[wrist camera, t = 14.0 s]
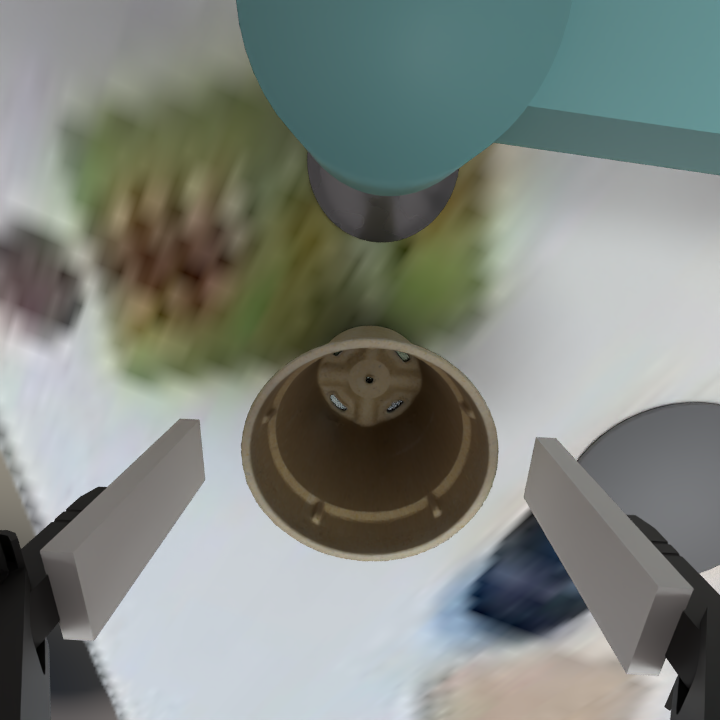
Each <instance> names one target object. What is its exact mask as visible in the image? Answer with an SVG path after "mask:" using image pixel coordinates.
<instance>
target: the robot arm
mask: <svg viewBox="0 0 720 720" xmlns="http://www.w3.org/2000/svg"><path fill="white" fill-rule="evenodd" d="M204 481H205V473H204V462H203V452H202V442H201V431H200V421H199V420H195V419H179V420H178V421H177V422H176V423H175V424H174V425H173V426H172V427H171V428H170V429H169V430H168V431H166V432H165V433H164V434H163V435H162V436H161V437H160V438H159V439H158V440H157V441H156V442H155V443H154V444H153V445H152V446H151V447H149V448H148V449H147V450H146V451H145V452H144V453H143V454H142V455H141V456H140V457H139V458H138V459H137V460H136V461H135V462H134V463H132V464H131V465H130V466H129V467H128V468H127V469H126V470H125V471H124V472H123V473H122V474H121V475H120V476H119V477H118V478H117V479H116V480H114V481H113V482H112V483H111V484H110V485H109V486H108V487H97V488H95V489H93V490H92V491H90V492H88V493H86V494H84V495H83V496H81V497H79V498H78V499H77V500H76V501H75V502H74V503H73V504H72V505H70V506H69V507H68V508H67V509H66V512H63V513H61V514H60V515H59V516H58V517H57V518H56V519H55V521H54V522H51V523H50V524H49V525H48V526H47V527H46V528H44V529H43V530H42V531H41V532H40V533H39V534H38V535H37V536H35V537H34V538H33V539H32V540H31V541H30V542H29V543H28V544H27V545H25V546H24V547H23V548H22V549H21V548H20V545H19V541H18V538H17V536H16V534H15V533H14V532H11V531H8V530H0V720H51V707H50V670H49V669H50V668H49V645H48V641H47V638H46V637H47V636H48V634H49V633H50V632H51V631H52V630H53V628H54V627H55V626H56V624H57V623H58V622H59V623H60V627H61V631H62V635H63V638H64V639H71V640H87V641H94V640H95V639H96V637H97V636H98V634H99V633H100V631H101V630H102V629H103V627H104V626H105V624H106V623H107V621H108V620H109V618H110V617H111V616H112V614H113V613H114V611H115V610H116V608H117V607H118V605H119V604H120V603H121V601H122V600H123V598H124V597H125V595H126V594H127V592H128V591H129V589H130V588H131V587H132V585H133V584H134V582H135V581H136V579H137V578H138V576H139V575H140V574H141V572H142V571H143V569H144V568H145V566H146V565H147V563H148V562H149V560H150V559H151V558H152V556H153V555H154V553H155V552H156V550H157V549H158V547H159V546H160V545H161V543H162V542H163V540H164V539H165V537H166V536H167V534H168V533H169V532H170V530H171V529H172V527H173V526H174V524H175V523H176V521H177V520H178V518H179V517H180V516H181V514H182V513H183V511H184V510H185V508H186V507H187V505H188V504H189V503H190V501H191V500H192V498H193V497H194V495H195V494H196V492H197V491H198V489H199V488H200V487H201V485H202V484H203V482H204ZM524 499H525V500H526V502H527V504H528V505H529V507H530V509H531V511H532V512H533V514H534V516H535V517H536V519H537V521H538V523H539V524H540V526H541V528H542V529H543V531H544V533H545V535H546V536H547V538H548V540H549V541H550V543H551V545H552V547H553V548H554V550H555V552H556V553H557V555H558V557H559V559H560V560H561V562H562V564H563V565H564V567H565V569H566V571H567V572H568V574H569V576H570V577H571V579H572V581H573V583H574V584H575V586H576V588H577V590H578V591H579V593H580V595H581V596H582V598H583V600H584V602H585V603H586V605H587V607H588V608H589V610H590V612H591V614H592V615H593V617H594V619H595V620H596V622H597V624H598V626H599V627H600V629H601V631H602V632H603V634H604V636H605V638H606V639H607V641H608V643H609V644H610V646H611V648H612V650H613V651H614V653H615V655H616V656H617V658H618V660H619V662H620V663H621V665H622V667H623V668H624V670H625V672H626V674H637V675H653V676H659V674H660V671H661V669H662V666H663V664H664V661H665V659H666V658H667V660H668V661H669V662H670V664H671V665H672V667H673V668H674V670H675V671H676V672H677V674H678V676H677V679H676V681H675V683H674V686H673V688H672V690H671V693H670V695H669V697H668V700H667V702H666V704H665V708H667V709H668V710H671V718H670V720H720V595H719V594H718V593H717V592H716V591H715V590H714V589H713V588H712V587H711V585H710V584H709V583H708V582H707V581H706V580H705V579H704V578H703V577H702V576H701V575H700V574H699V573H698V572H697V571H696V570H695V569H694V568H693V567H692V566H691V565H690V564H689V563H688V562H687V561H686V560H685V559H684V558H683V557H682V556H680V555H679V553H678V552H677V551H676V549H675V548H674V547H673V546H672V545H670V544H668V541H667V540H666V539H665V538H664V537H663V536H662V535H661V534H660V533H659V532H658V531H657V530H656V529H655V528H654V527H653V526H651V525H650V524H648V523H647V522H645V521H644V520H642V519H641V518H639V517H638V516H636V515H626V514H625V513H624V512H623V511H622V510H621V509H620V508H619V507H618V506H617V504H616V503H615V502H614V501H613V500H612V499H611V498H610V497H609V496H608V495H607V493H606V492H605V491H604V490H603V489H602V488H601V487H600V486H599V485H598V484H597V483H596V481H595V480H594V479H593V478H592V477H591V476H590V475H589V474H588V473H587V472H586V471H585V469H584V468H583V467H582V466H581V465H580V464H579V463H578V462H577V461H576V460H575V459H574V457H573V456H572V455H571V454H570V453H569V452H568V451H567V450H566V449H565V448H564V447H563V445H562V444H561V443H560V442H559V441H558V440H557V439H556V438H542V437H536V439H535V444H534V449H533V454H532V459H531V464H530V469H529V474H528V478H527V483H526V488H525V493H524Z"/></svg>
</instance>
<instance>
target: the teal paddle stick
mask: <svg viewBox="0 0 720 720" xmlns="http://www.w3.org/2000/svg"><path fill="white" fill-rule="evenodd" d="M236 3H237V11H238V18H239V25H240V29H241V33H242V37H243V41H244V46H245V50H246V52H247V55H248V58H249V61H250V64H251V66H252V69H253V72H254V74H255V76H256V78H257V80H258V83H259V85H260V87H261V89H262V91H263V93H264V95H265V96H266V98H267V100H268V101H269V103H270V104H271V106H272V107H273V109H274V111H275V112H276V114H277V115H278V116H279V117H280V119H281V120H282V121H283V122H284V124H285V125H286V126H287V127H288V128H289V130H290V131H291V132H292V133H293V134H294V136H295V137H296V138H297V139H298V140H299V141H300V143H301V144H302V145H303V146H304V147H305V148H306V149H307V151H308V152H309V153H310V154H311V155H312V156H313V158H314V159H315V160H316V161H317V162H318V163H319V165H320V166H322V167H323V168H324V169H325V170H326V171H327V172H328V173H329V174H330V175H332V176H333V177H334V178H336V179H337V180H338V181H340V182H341V183H343V184H345V185H347V186H349V187H351V188H353V189H356V190H358V191H361V192H364V193H368V194H373V195H379V196H400V195H406V194H411V193H416V192H418V191H421V190H424V189H427V188H429V187H431V186H433V185H435V184H437V183H438V182H440V181H442V180H443V179H445V178H446V177H447V176H449V175H450V174H452V173H453V172H454V171H456V170H457V169H459V168H460V167H461V166H463V165H464V164H465V163H467V162H468V161H469V160H471V159H472V158H474V157H475V156H476V155H478V154H479V153H480V152H482V151H483V150H484V149H486V148H487V147H489V146H490V145H491V144H492V143H500V144H507V145H514V146H520V147H527V148H534V149H541V150H548V151H555V152H562V153H569V154H576V155H583V156H590V157H597V158H604V159H611V160H618V161H624V162H631V163H638V164H645V165H652V166H659V167H666V168H673V169H680V170H687V171H694V172H701V173H708V174H715V175H720V0H236Z"/></svg>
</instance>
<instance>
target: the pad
mask: <svg viewBox="0 0 720 720" xmlns="http://www.w3.org/2000/svg"><path fill="white" fill-rule="evenodd" d="M578 463H579V464H580V465H581V466H582V467H583V468H584V469H585V471H586V472H587V473H588V474H589V475H590V476H591V477H592V478H593V479H594V480H595V481H596V483H597V484H598V485H599V486H600V487H601V488H602V489H603V490H604V491H605V492H606V493H607V495H608V496H609V497H610V498H611V499H612V500H613V501H614V502H615V503H616V504H617V506H618V507H619V508H620V509H621V510H622V511H623V512H624V513H625V514H626V515H636V516H638V517H639V518H641V519H642V520H644V521H645V522H647V523H648V524H650V525H651V526H653V527H654V528H655V529H656V530H657V531H658V532H659V533H660V534H661V535H662V536H663V537H664V538H665V539H666V540H667V541H668V544H670V545H672V546H673V547H674V548H675V549H676V551H677V552H678V553H679V555H680V556H682V557H683V558H684V559H685V560H686V561H687V562H688V563H689V564H690V565H691V566H692V567H693V568H694V569H695V570H696V571H697V572H698V573H701V572H704V571H707V570H709V569H712V568H714V567H716V566H718V565H720V405H719V404H711V403H681V404H672V405H668V406H663V407H659V408H655V409H652V410H649V411H646V412H643V413H640V414H638V415H636V416H634V417H631V418H629V419H627V420H625V421H624V422H622V423H620V424H618V425H617V426H615V427H613V428H612V429H610V430H609V431H608V432H606V433H605V434H604V435H602V436H601V437H600V438H599V439H598V440H596V441H595V442H594V443H593V444H592V445H591V446H590V447H589V448H588V449H587V450H586V451H585V453H584V454H583V455H582V456H581V457H580V459H579V460H578Z"/></svg>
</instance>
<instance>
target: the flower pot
mask: <svg viewBox="0 0 720 720" xmlns="http://www.w3.org/2000/svg"><path fill="white" fill-rule="evenodd" d="M338 351H342V352H340V354H338V355H334V354H333V353H335V352H338ZM396 351H400V352H404V353H407V354H408V355H409V361H406V362H404V361H403V360H402V359H401V358H400V356H399V355H398V354H397V352H396ZM367 377H371V378H373V382H372V383H367V382H366V378H367ZM331 395H334V396H335V397H336V398H337V399H338V400H339V401H340V402H341V403H342V405H344V406H345V407H346V408H347V409H346V410H345V411H343V410H341V409H339V408H337V407H336V406H335V405H334V404H333V403H332V401H331V398H330V396H331ZM399 400H401V401H403V403H402V404H401V405H400V406H399V407H398V408H396V409H395V410H393V411H391V412H388V411H387V409H388V408H389V407H391V406H392V403H396V402H398V401H399ZM241 449H242V450H241V454H242V465H243V470H244V473H245V477H246V482H247V484H248V486H249V489H250V490H251V492H252V495H253V496H254V498H255V500H256V502H257V503H258V505H259V506H260V508H261V509H262V510H263V512H264V513H265V514H266V515H267V516H268V517H269V518H270V519H271V520H272V521H273V523H274V524H275V525H276V526H278V527H279V528H281V529H282V530H283V531H284V532H286V533H287V534H288V535H290V536H291V537H293V538H294V539H296V540H297V541H299V542H300V543H302V544H304V545H306V546H308V547H310V548H313V549H314V550H317V551H320V552H322V553H325V554H328V555H332V556H336V557H340V558H345V559H351V560H358V561H389V560H395V559H402V558H406V557H410V556H414V555H418V554H420V553H422V552H425V551H427V550H429V549H432V548H435V547H437V546H438V545H439V544H441V543H444V542H445V541H447V540H449V538H451V537H452V536H453V535H454V534H456V533H457V532H458V531H459V530H460V529H461V528H463V527H464V526H465V525H466V524H467V523H468V522H469V521H470V520H471V519H472V518H473V517H474V516H475V514H476V513H477V512H478V510H479V509H480V507H481V506H482V505H483V502H484V501H485V500H486V498H487V496H488V494H489V492H490V489H491V487H492V484H493V481H494V478H495V475H496V470H497V463H498V439H497V432H496V427H495V424H494V421H493V418H492V416H491V413H490V410H489V408H488V407H487V405H486V402H485V401H484V399H483V397H482V396H481V395H480V393H479V391H478V390H477V389H476V387H475V386H474V385H473V384H472V382H471V381H470V380H469V379H468V378H467V377H466V376H465V375H464V374H463V373H462V372H461V371H460V370H459V369H457V368H456V367H455V366H453V365H452V364H451V363H450V362H448V361H447V360H445V359H443V358H442V357H440V356H439V355H437V354H435V353H433V352H431V351H429V350H427V349H425V348H422V347H420V346H417V345H414V344H411V343H410V342H409V341H408V340H407V339H406V338H405V337H403V336H402V335H401V334H399V333H397V332H395V331H393V330H391V329H388V328H384V327H379V326H359V327H354V328H351V329H348V330H346V331H344V332H342V333H340V334H338V335H337V336H336V337H334V338H333V339H332V340H331V341H330V342H329V343H328V344H325V345H322V346H319V347H317V348H314V349H312V350H309V351H308V352H306V353H304V354H302V355H300V356H298V357H296V358H295V359H293V360H292V361H290V362H289V363H287V364H286V365H285V366H284V367H282V368H281V369H280V370H279V371H278V372H276V373H275V374H274V376H273V377H272V378H271V379H270V380H269V381H268V382H267V383H266V385H265V386H264V387H263V388H262V389H261V391H260V392H259V394H258V395H257V397H256V399H255V400H254V402H253V404H252V406H251V408H250V411H249V413H248V416H247V418H246V421H245V426H244V430H243V436H242V443H241Z"/></svg>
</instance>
